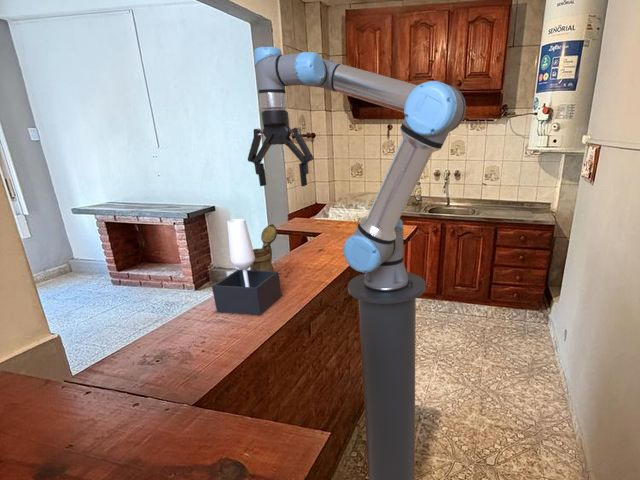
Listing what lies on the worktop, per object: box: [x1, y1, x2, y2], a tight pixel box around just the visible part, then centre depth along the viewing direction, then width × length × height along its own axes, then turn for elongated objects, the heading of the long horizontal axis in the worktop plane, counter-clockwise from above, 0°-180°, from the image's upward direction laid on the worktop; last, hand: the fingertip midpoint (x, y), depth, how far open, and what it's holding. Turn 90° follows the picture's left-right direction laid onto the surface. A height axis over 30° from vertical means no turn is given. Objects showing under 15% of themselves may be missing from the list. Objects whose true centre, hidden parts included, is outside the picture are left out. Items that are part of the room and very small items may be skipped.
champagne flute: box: [226, 218, 255, 287], centre depth 113 cm, size 7×7×24 cm
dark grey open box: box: [211, 269, 282, 316], centre depth 117 cm, size 14×14×8 cm
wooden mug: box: [249, 223, 278, 271], centre depth 133 cm, size 9×14×18 cm, turn 159°
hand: (283, 185), depth 122 cm, fingers open, 13 cm apart
